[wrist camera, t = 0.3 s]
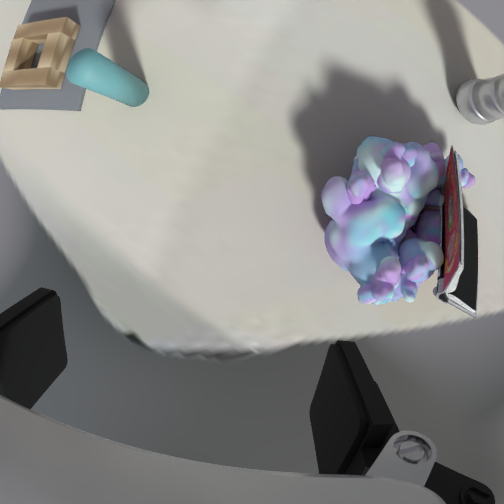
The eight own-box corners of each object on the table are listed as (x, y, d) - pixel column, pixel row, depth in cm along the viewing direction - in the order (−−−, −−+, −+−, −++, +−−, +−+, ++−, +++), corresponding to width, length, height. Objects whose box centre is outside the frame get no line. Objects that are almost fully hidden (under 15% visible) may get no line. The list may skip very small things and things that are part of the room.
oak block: (32, 32, 32) (18, 25, 28) (80, 25, 32) (66, 16, 28) (15, 90, 34) (-1, 86, 30) (60, 88, 35) (44, 84, 31)
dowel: (127, 79, 35) (72, 48, 22) (151, 81, 35) (103, 47, 22) (120, 105, 36) (62, 84, 23) (145, 107, 36) (92, 84, 23)
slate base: (41, -16, 30) (39, -17, 29) (128, -30, 30) (127, -32, 30) (-1, 109, 36) (-3, 109, 35) (80, 111, 36) (78, 110, 36)
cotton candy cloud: (280, 154, 33) (348, 281, 20) (441, 85, 29) (556, 164, 16) (331, 264, 47) (378, 370, 34) (450, 204, 43) (518, 289, 30)
